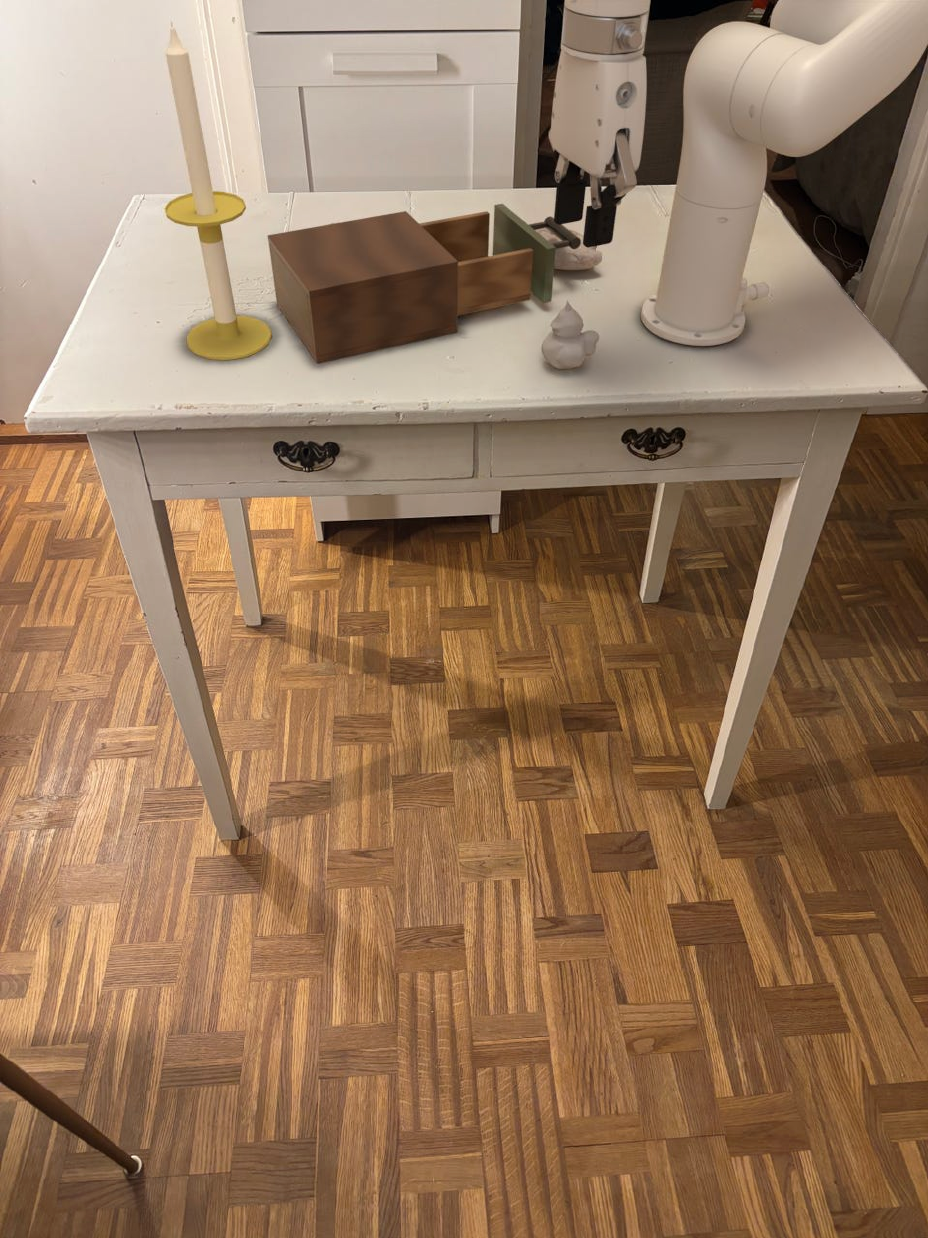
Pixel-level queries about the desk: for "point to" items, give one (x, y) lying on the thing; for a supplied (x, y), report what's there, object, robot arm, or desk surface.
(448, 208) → the desk surface
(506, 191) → the desk surface
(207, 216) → the candle
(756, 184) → the robot arm
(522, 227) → the drawer
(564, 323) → the rubber duck
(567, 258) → the fossil
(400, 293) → the cabinet
